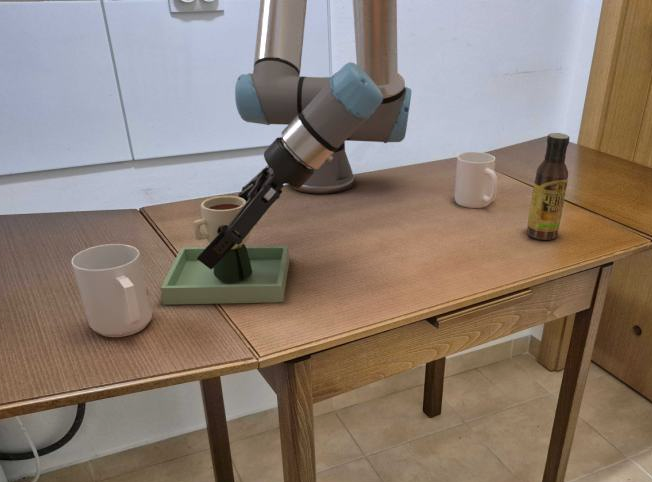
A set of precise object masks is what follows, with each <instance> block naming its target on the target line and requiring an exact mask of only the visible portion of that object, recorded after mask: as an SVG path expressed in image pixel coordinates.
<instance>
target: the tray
mask: <svg viewBox="0 0 652 482" xmlns="http://www.w3.org/2000/svg"><path fill="white" fill-rule="evenodd" d="M206 247H207V246H191V247H189V246H186V247H185V246H184V247H180V249H179V252H178V253H177V255H176V256H175V258H174V261H173V263H172V265H171V266H170V269H169V271H168V273H167V275H166V276H165V279H164V280H163V282H162V284H161V286H160V293H161V297H162V300H163V301H162V302H163V305H165V306H169V305H171V306H172V305H215V304H217V305H218V304H220V305H221V304H259V303H260V304H263V303H266V304H267V303H283V302H284V298H285V291H286V286H287V279H288V272H289V266H290V250H289V245H266V246H265V245H262V246H261V245H259V246H257V245H256V246H255V245H253V246H246V248H247V252H248V255H249V259H250V263H251V268H252V274H251V276H250V277H248V278H247V279H244V275H243V274H242V275H240V276H239V280H240V281H237V282H225V281H221V280H219V279H218V278H216V277H215V275H214V271H213V268H212V269H209V268H208V267H207V266H205V265H204V264H203V263H201V262H200V261H199V260H198V259H197V257H198V256H199V255H200V254H201V253H202V251H203V250H204V249H205V248H206Z"/></svg>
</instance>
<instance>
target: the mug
mask: <svg viewBox="0 0 652 482" xmlns="http://www.w3.org/2000/svg"><path fill="white" fill-rule="evenodd" d="M70 263H71V267H72V271H73V274H74V278H75V280H76V281H75V282H76V284H77V289H78V291H79V295H80V298H81V302H82V306H83V310H84V313H85V317H86V320H87V324H88V326H89V328H90V329H91V328H92V329H93V330H92V329H91V330H92V331H94V330H95V331H94V332H95V333H97V334H99V335H101V336H103V337H107V338H122V337H128V336H132V335H135V334H136V333H137V334H138V333H139V332H141V331H142V330H145V328H146V327H147V326H148V325H149V323H150V321H152V318H153V308H152V304H151V303H152V302H151V299H150V294H149V290H148V286H147V280H146V276H145V271H144V266H143V262H142V258H141V253H140V251H139V249H138V248H136V247H135V246H132V245H130V244H124V243H123V244H122V243H109V244H108V243H107V244H100V245H95V246H92V247H89V248H85V249H82V250H81V251H79V252H78V253H75V255H74V256H72V258H71V260H70ZM96 331H97V332H96ZM98 332H100V333H98ZM103 333H107V334H103ZM119 333H121V334H119Z"/></svg>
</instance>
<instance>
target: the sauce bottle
mask: <svg viewBox="0 0 652 482" xmlns="http://www.w3.org/2000/svg"><path fill="white" fill-rule="evenodd" d="M570 138H571V136H570V135H568V134H565V133H562V132H551V133H548V134H547V139H546V150H545V155H544V159H543V161H542V162H541V163H540V165H539V166H538V167H537V168H536V173H535V179H534V181H533V188H532V195H531V201H530V208H529V215H528V219H527V229H526V233H527V235H528V236H529V237H531V238H533V239H536V240H540V241H550V240H553V239H556V238H557V237H558V231H559V229H560V225H561V219H562V213H563V209H564V203H565V197H566V193H567V188H568V181H569V179H568V178H569V170H568V167H567V165H566V163H565V162H566V154H567V149H568V145H569V144H570Z"/></svg>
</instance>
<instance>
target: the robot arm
mask: <svg viewBox="0 0 652 482" xmlns="http://www.w3.org/2000/svg"><path fill="white" fill-rule="evenodd" d="M307 2H308V0H260V2H259V11H258V21H257V30H256V40H255V48H254V49H255V50H254V57H253V58H254V59H253V70H252V73H246V74H239V76H238V78H237V81H235V82H236V83H235V89H234V99H235V106H236V110H237V112H238V114H239V116H240V118H241V120H243V121H244V122H246V123H251V124H259V125H265V126H270V125H283V126H284V125H287V126H286V127H285V128H284V129H283V130H282V131H281V134H280V135H281V136H279V137H276V139H274V141H272V142H271V144H270V145H269V146H268V147H267V148H266V149H265V150H264V152H263V158H264V161H265V163H266V164H267V165H265V167H264V168H263V169H261V170H260V172H258V173H257V174H256V175H255V176H254V177H253V178H252V179H251V180H250V181H248V183H246V184H245V185H243V186H242V187H241V191H240V192H238V195H237V197H240V198H243V199H244V200H245V201H246V203H245V205H244V206H243V207H242V209H241V210H240V211H239V213H238V214H237V215H236V216H235V218H234V219H233V220H232V222H231V223H230V224H229V226H228V227H227V228H226V227H225V226H222V227H221V228H220V230H221V232H220V233H219V234H218V235H217V237H216V238H215V239H214V240H213V241H212V242H211V243H208V244H207V246H205V247H206V248H205V249H204V250H203V251H202V253H201V254H200V255H199V256H198V257H197V259H198V260H199V261H200V262H201V263H203V264H204V265H205V266H207V267H208V268H209V269H212V268H213V267H214V266H215V265H216V264H217V263H218V262H219V261H220V260H221V259H222V258H223V257H224V256H225V255H226V254H227V253H228V252H229V251H230V250H231V249H232V248H233V246H234V245H235V244H237V245H239V244H241V243H242V241H243V239H244V238H245V237H246V236H247V235H248V233H249V232H250V233H251V231H252V230H253V229H254V227H256V226H257V225H256V223H257V224H258V222H259V221H260V220H261V219H262V217H263V216H264V215H265V214H266V212H267V211H268V210H269V209H270V207H271V206H272V205H274V203H275V202H276V201H277V200H279V199H280V197H281V194H282V193H283V190H282V189H283V188H284V184H286V185H289V187H290V188H291V189H293V190H295V191H297V192H301V193H306V194H317V195H318V194H319V195H321V194H323V195H324V194H333V193H334V194H335V193H340V192H343V191H346V190H348V189H351V187H353V185H354V173H353V170H352V166H351V164H350V161H349V158H348V155H347V153H346V141H347V142H348V141H350V142H369V143H370V142H372V143H383V144H388V143H401V142H402V141H403V140H405V138H406V134H407V129H408V128H407V127H408V120H409V113H410V107H411V98H412V92H413V91H412V89H411V88H409V87H408V86H406V83H405V78H404V77H403V76H402V75H401V74H400V73H399V68H398V65H399V64H398V5H397V4H398V3H397V2H398V0H352V12H353V15H352V16H353V29H354V45H355V60H356V62H355V63H354V62H351V61H350V62H347V63H345V64H344V65H343V66H342V67H341V68H340V69H339V70H338V71H337V72H335V73H333V75H332V76H322V77H321V76H319V77H318V76H303V75H302V76H301V68H302V56H303V48H304V47H303V46H304V35H305V26H306V25H305V24H306V14H307ZM255 225H256V226H255ZM234 230H235V231H236V232H235V231H234ZM238 233H239V234H238Z"/></svg>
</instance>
